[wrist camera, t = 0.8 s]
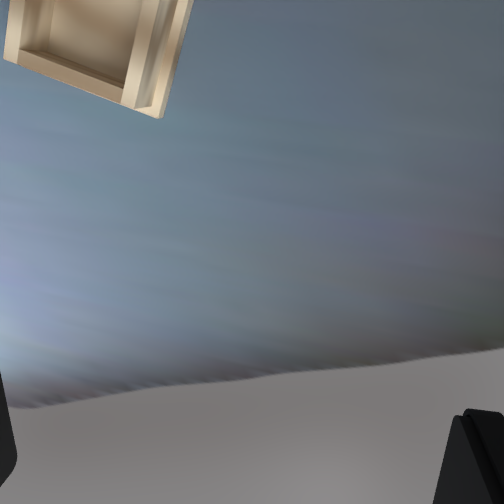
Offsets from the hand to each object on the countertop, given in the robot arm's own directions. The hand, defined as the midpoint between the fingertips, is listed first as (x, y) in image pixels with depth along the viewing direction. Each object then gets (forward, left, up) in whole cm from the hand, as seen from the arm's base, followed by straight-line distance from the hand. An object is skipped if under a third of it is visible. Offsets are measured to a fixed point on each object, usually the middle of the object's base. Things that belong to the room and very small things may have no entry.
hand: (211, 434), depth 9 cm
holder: (-6, -17, -28) cm, 33 cm away
